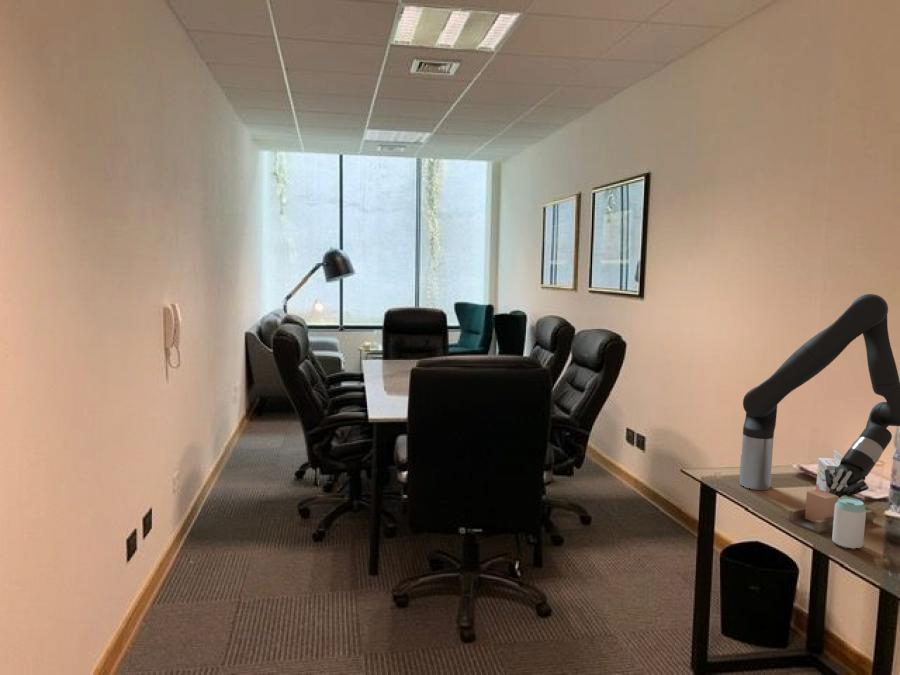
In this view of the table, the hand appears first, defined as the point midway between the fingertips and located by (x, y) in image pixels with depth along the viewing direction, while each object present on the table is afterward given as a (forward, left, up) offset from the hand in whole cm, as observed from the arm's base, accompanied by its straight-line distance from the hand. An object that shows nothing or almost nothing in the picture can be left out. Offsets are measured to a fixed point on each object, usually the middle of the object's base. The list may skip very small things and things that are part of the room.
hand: (829, 502), depth 188 cm
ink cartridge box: (-19, +12, -6) cm, 24 cm away
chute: (0, +1, -6) cm, 6 cm away
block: (+1, -3, -6) cm, 7 cm away
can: (+15, -4, -6) cm, 16 cm away
